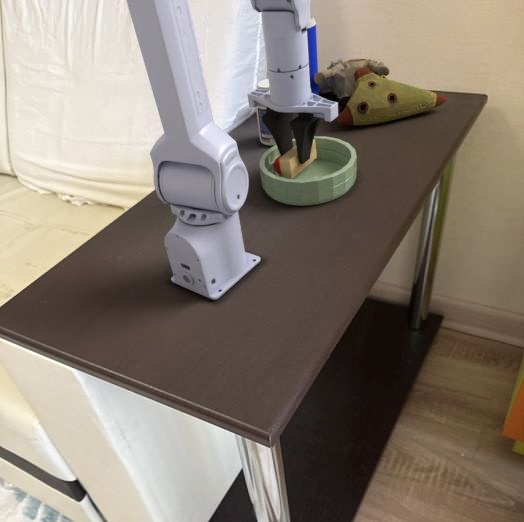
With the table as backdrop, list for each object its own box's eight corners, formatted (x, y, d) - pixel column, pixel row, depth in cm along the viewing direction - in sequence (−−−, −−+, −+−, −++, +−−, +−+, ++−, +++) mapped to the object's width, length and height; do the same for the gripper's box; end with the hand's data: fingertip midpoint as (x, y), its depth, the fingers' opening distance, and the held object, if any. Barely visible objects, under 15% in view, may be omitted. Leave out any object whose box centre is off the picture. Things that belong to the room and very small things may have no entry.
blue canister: (288, 105, 104) (281, 19, 93) (311, 98, 105) (306, 12, 94) (300, 113, 100) (294, 25, 90) (324, 106, 102) (320, 18, 91)
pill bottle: (294, 141, 93) (290, 83, 86) (266, 149, 92) (260, 91, 85) (282, 130, 96) (277, 74, 89) (255, 138, 95) (248, 82, 88)
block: (292, 179, 80) (289, 160, 78) (281, 176, 81) (278, 158, 79) (317, 157, 83) (315, 139, 81) (306, 155, 84) (304, 137, 82)
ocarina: (443, 113, 96) (430, 59, 95) (455, 99, 90) (441, 42, 90) (337, 138, 95) (324, 84, 95) (342, 126, 90) (328, 68, 89)
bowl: (322, 216, 75) (321, 190, 72) (244, 193, 82) (240, 169, 79) (373, 170, 82) (374, 145, 79) (297, 153, 89) (295, 130, 86)
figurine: (327, 130, 98) (321, 122, 111) (399, 89, 94) (383, 85, 108) (304, 81, 94) (300, 78, 107) (378, 35, 90) (365, 39, 104)
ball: (290, 172, 81) (274, 160, 80) (283, 182, 84) (268, 171, 83) (298, 159, 82) (283, 147, 81) (292, 169, 85) (277, 158, 84)
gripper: (349, 59, 70) (349, 156, 80) (263, 49, 77) (273, 139, 87) (320, 79, 66) (324, 177, 76) (233, 67, 73) (247, 158, 83)
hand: (295, 158), depth 81 cm, fingers open, 3 cm apart
